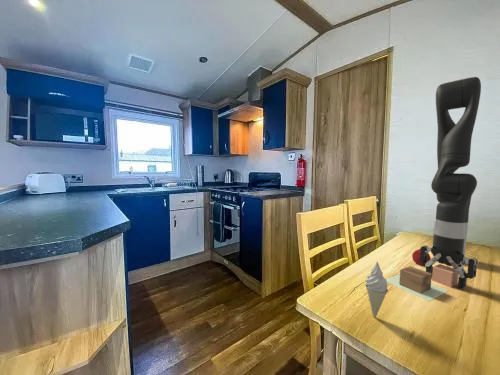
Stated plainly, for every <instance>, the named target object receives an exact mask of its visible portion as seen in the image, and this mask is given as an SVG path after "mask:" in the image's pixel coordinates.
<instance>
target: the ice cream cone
mask: <svg viewBox="0 0 500 375" xmlns="http://www.w3.org/2000/svg"><path fill="white" fill-rule="evenodd" d="M370 271H371V272H370V274H369V275H367V276H366V279H365V282H366V283H365V284H364V285H365V288H366V292H367V295H368V301H369V304H370V309H371V312H372V316H373V318H374V319H376V318H377V316H378V313H379V311H380V309H381V306H382V304H383V301H384V300H385V297H386V295H387V293H388V292H389V289H388V282H387V281H386V278H385V277H384V274H383V271H382V269H381V267H380V264H379V262H378V261H377V262H376V263H375V265H374V267H373V268H372V269H371V270H370Z"/></svg>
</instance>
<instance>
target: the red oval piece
mask: <svg viewBox="0 0 500 375" xmlns="http://www.w3.org/2000/svg"><path fill="white" fill-rule="evenodd" d="M421 247H422V246H420V248H418V249H416V250H414V251H413V253H412V256H411V257H412V260H413V262H414V263H415V264H416V265H417V266H419V267H420V266H421V267H426V265H425V264H424V263H421V262H420V252H421ZM430 259H432V257H431V255H430V253H428V256H427V260H428V261H429V260H430Z"/></svg>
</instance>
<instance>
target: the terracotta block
mask: <svg viewBox="0 0 500 375" xmlns="http://www.w3.org/2000/svg"><path fill="white" fill-rule="evenodd" d="M458 279H459V274H458V273H457V271H455V270H454V268H453V267H452V266H447V265H445V264H441V263H438V264H437V265H434V266H433V273H432V278H431V282H435V283H437V284H441V285H443V286H445V287H448V288H453V287H454V286H456V285H458Z"/></svg>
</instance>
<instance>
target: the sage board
mask: <svg viewBox="0 0 500 375" xmlns="http://www.w3.org/2000/svg"><path fill="white" fill-rule="evenodd" d="M385 279H386V278H385ZM386 281H387V284H390V285H392V286H395V287H396V288H399V289H400V290H403V291H406V292H408V293H410V294H412V295H414V296H416V297H418V298H421V299H423V300H426V301H427V302H430V301H433V300H435V299H436V298H438V297H439V296H441V295H444V294H445V293H447V292H448V291H449V290H448V289H446V288H443V287H440V286H438V285H435V284H433V283H431V289H430V290H428V291H426V292H424V293H422V294H420V293H417V292H415V291H413V290H411V289H408V288H406V287H404V286H401V285H399V282H400V273H399V274H396V275H394V276H391V277H388V278H387V279H386Z"/></svg>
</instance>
